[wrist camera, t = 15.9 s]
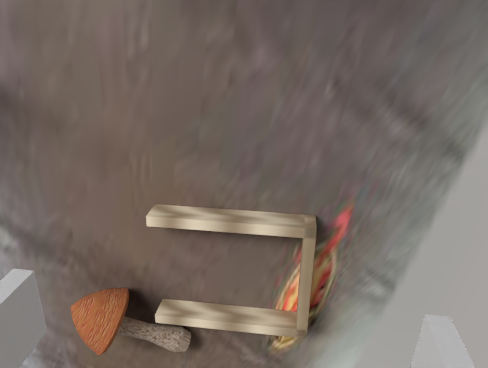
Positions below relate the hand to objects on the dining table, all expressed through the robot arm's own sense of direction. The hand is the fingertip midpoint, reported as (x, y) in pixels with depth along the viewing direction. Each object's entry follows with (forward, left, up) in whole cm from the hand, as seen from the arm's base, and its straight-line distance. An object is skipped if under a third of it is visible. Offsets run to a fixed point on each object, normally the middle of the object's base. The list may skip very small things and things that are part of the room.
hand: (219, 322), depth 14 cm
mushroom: (-9, -29, -27) cm, 41 cm away
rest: (-5, -17, -29) cm, 34 cm away
